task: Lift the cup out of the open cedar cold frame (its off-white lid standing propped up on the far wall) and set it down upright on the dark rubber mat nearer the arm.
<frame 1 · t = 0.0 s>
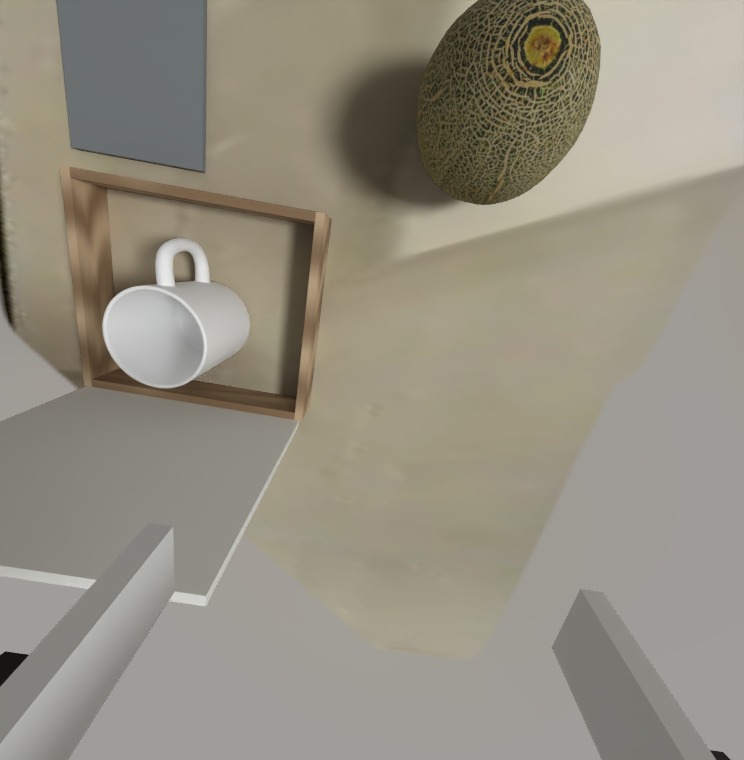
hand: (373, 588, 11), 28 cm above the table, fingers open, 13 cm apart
cup: (214, 302, 36), resting in cold frame
fruit: (470, 147, 31), on the table
cold frame: (213, 302, 36), on the table
mat: (136, 55, 30), on the table
lid: (143, 457, 28), on the table
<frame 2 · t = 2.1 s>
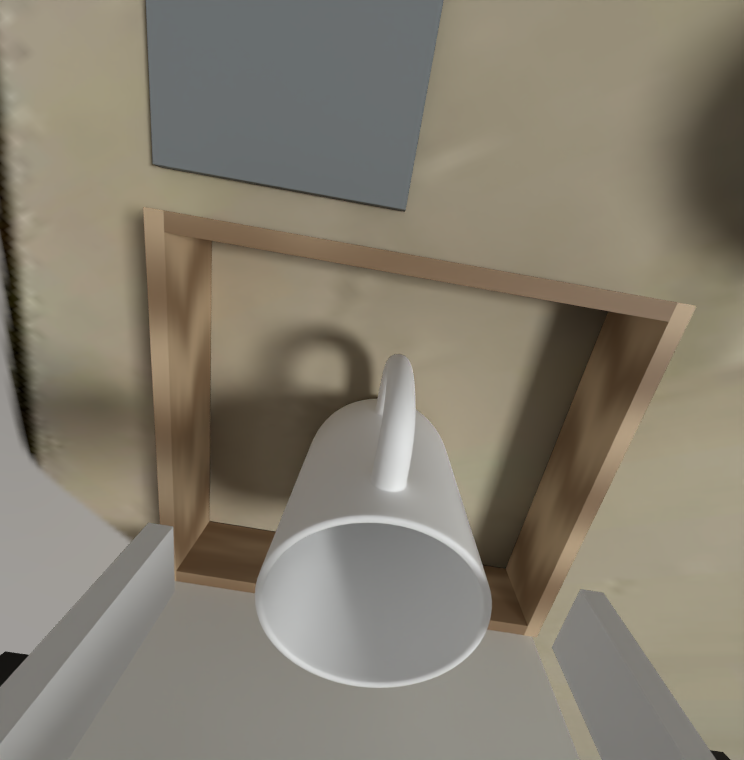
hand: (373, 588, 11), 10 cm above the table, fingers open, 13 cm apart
cup: (382, 427, 21), resting in cold frame
cold frame: (381, 429, 21), on the table
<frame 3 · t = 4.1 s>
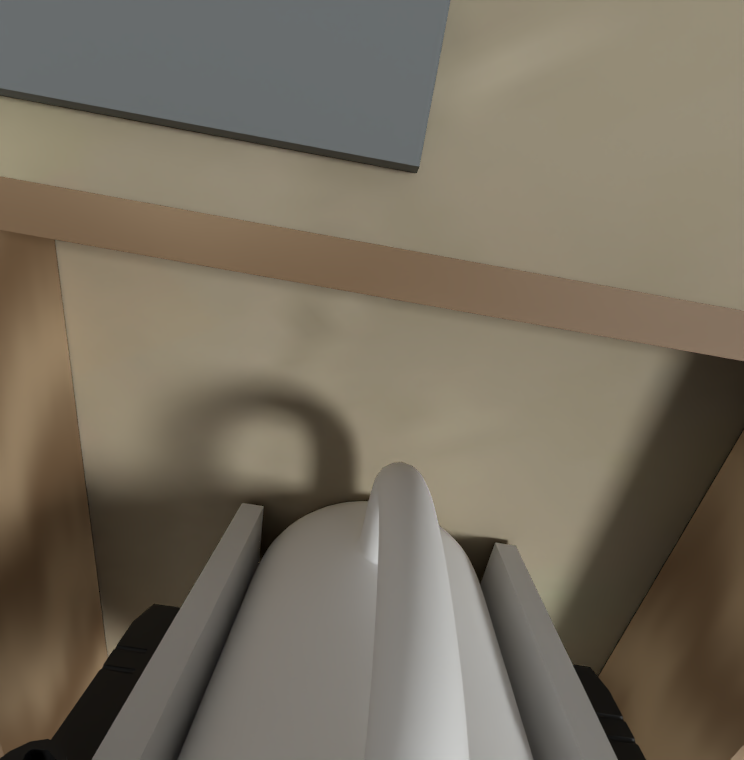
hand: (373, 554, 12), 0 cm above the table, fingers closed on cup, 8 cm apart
cup: (373, 541, 13), resting in cold frame, touching gripper
cold frame: (375, 545, 13), on the table
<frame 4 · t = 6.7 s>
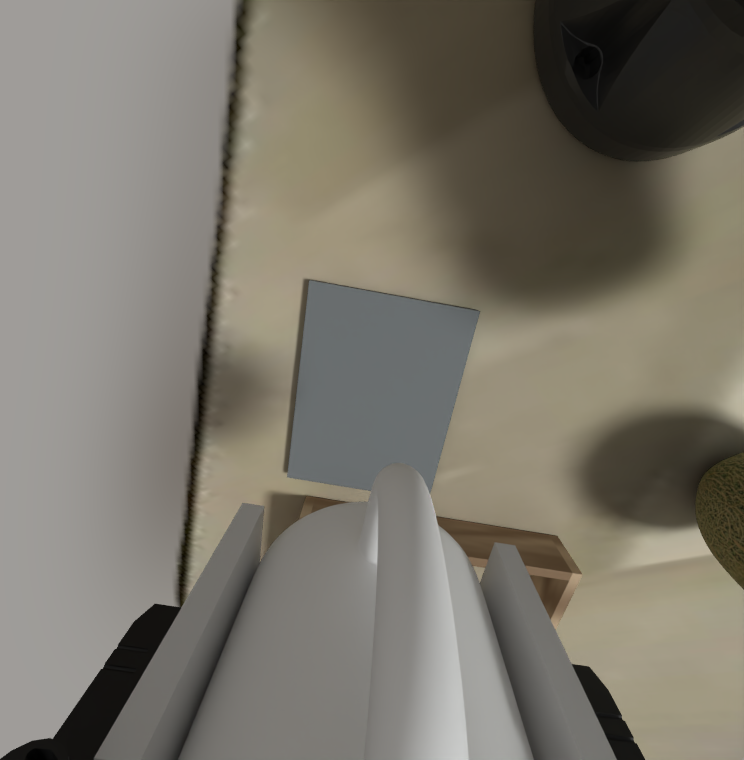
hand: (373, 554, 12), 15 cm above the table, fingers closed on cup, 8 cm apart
cup: (373, 541, 13), point 15 cm above the table, touching gripper
fruit: (724, 480, 29), on the table
cold frame: (409, 599, 33), on the table
mat: (375, 398, 27), on the table
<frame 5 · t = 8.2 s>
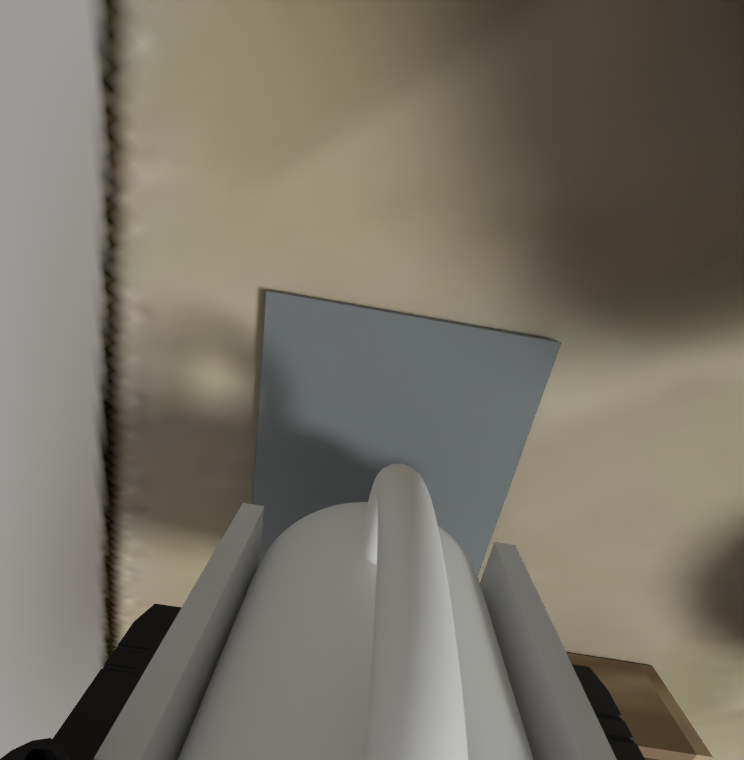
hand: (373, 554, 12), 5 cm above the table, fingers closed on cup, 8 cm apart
cup: (373, 542, 13), point 4 cm above the table, touching gripper
cold frame: (430, 737, 23), on the table
mat: (380, 476, 17), on the table
when the fingers open (2 cm above the table, at t = 9.5 s): cup drops 1 cm, resting on mat.
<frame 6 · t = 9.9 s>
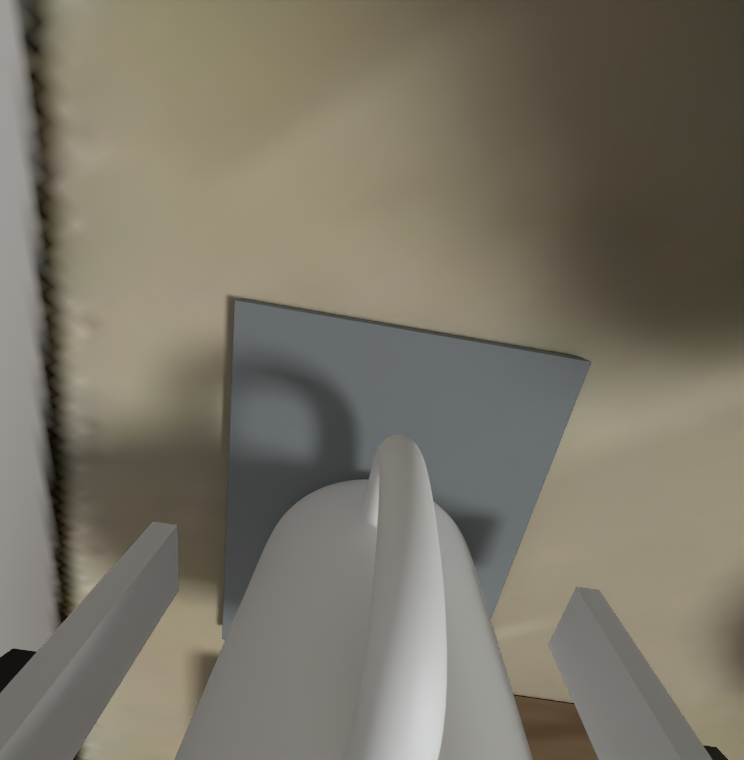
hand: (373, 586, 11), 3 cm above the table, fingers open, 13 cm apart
cup: (374, 517, 14), resting on mat
mat: (375, 514, 14), on the table
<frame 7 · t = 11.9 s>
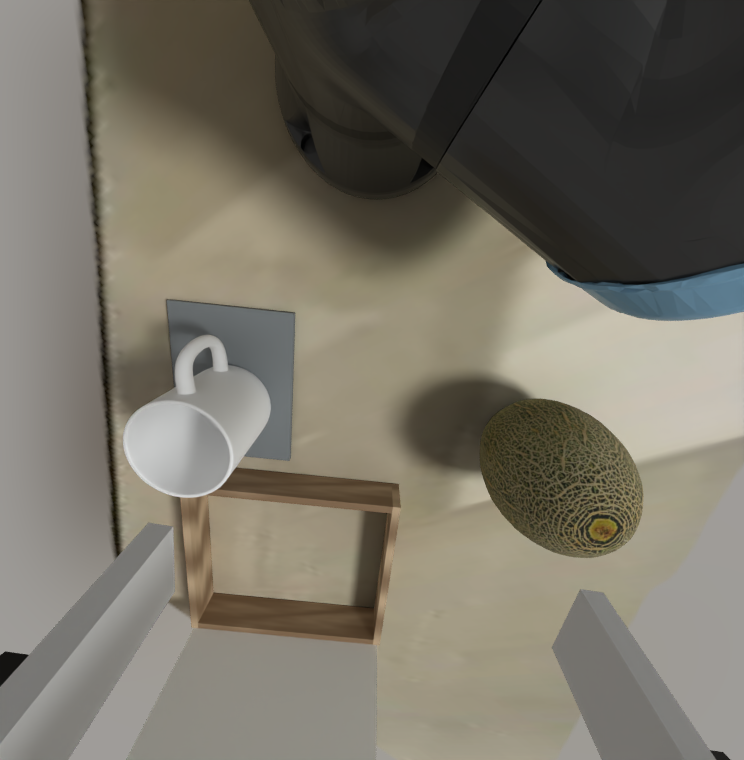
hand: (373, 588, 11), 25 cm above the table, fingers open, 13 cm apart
cup: (232, 384, 35), resting on mat
fruit: (516, 430, 37), on the table
cold frame: (296, 544, 42), on the table
mat: (234, 384, 35), on the table
lid: (264, 730, 34), on the table
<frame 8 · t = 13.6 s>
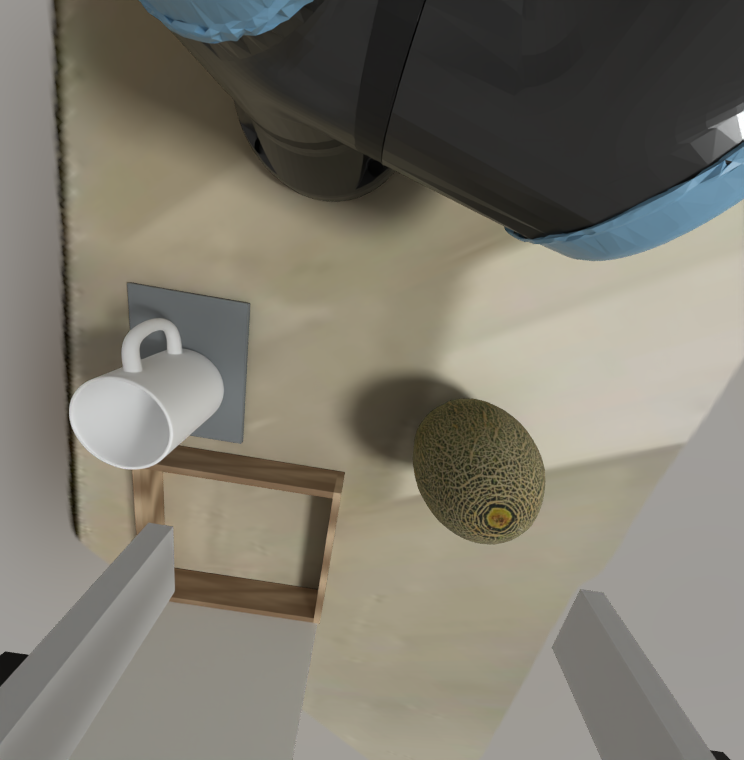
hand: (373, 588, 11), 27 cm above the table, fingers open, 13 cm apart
cup: (188, 367, 37), resting on mat
fruit: (456, 427, 39), on the table
cold frame: (246, 524, 44), on the table
mat: (191, 367, 37), on the table
lid: (198, 693, 36), on the table
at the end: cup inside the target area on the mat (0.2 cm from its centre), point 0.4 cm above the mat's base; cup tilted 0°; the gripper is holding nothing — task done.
